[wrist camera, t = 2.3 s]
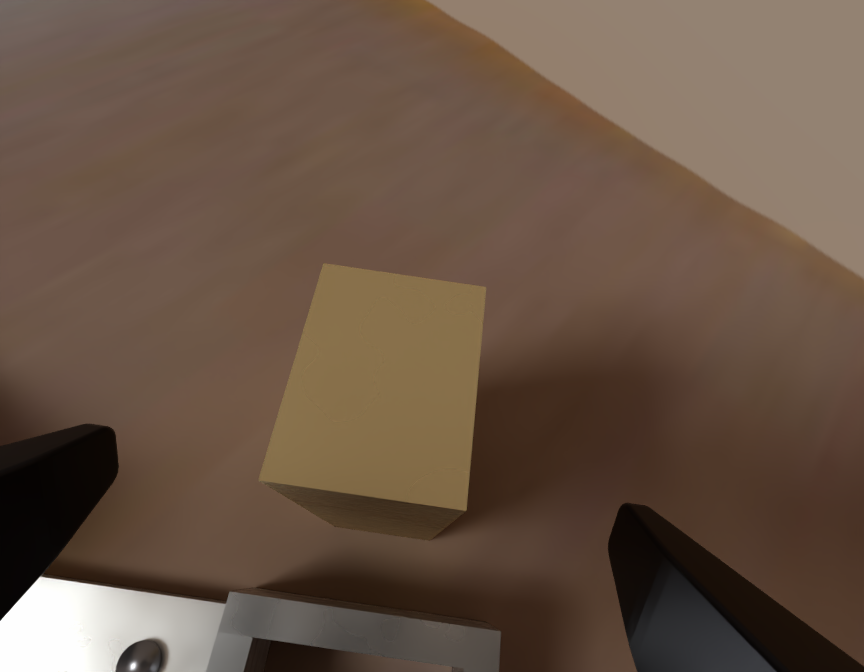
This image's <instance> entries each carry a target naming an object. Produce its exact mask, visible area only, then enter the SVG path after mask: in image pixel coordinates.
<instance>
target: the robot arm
mask: <svg viewBox="0 0 864 672" xmlns="http://www.w3.org/2000/svg"><path fill="white" fill-rule="evenodd" d="M118 468H119V464H118V454H117V444H116V435H115V432H114V430H113V429H112V428H110V427H108V426H102V425H95V424H82V425H79V426H75V427H71V428H67V429H64V430H60V431H56V432H52V433H49V434H45V435H41V436H37V437H34V438H30V439H26V440H22V441H18V442H15V443H11V444H7V445H3V446H0V621H1V620H2V619H3V618H4V617H5V615H6V614H7V613H8V612H9V611H10V610H11V609H12V608H13V607H14V605H15V604H16V603H17V602H18V601H19V600H20V599H21V598H22V596H23V595H24V594H25V593H26V592H27V591H28V590H29V589H30V587H31V586H32V585H33V584H34V583H35V582H36V581H37V580H38V579H39V577H40V576H41V575H42V574H43V573H44V572H45V570H46V569H47V568H48V567H49V566H50V565H51V563H52V562H53V561H54V560H55V559H56V557H57V556H58V555H59V554H60V552H61V551H62V550H63V548H64V547H65V546H66V545H67V543H68V542H69V541H70V539H71V538H72V537H73V535H74V534H75V533H76V531H77V530H78V529H79V527H80V526H81V525H82V523H83V522H84V521H85V519H86V518H87V517H88V515H89V514H90V513H91V511H92V510H93V509H94V507H95V506H96V505H97V503H98V502H99V501H100V499H101V498H102V497H103V495H104V494H105V493H106V491H107V490H108V489H109V487H110V486H111V485H112V483H113V482H114V480H115V478H116V476H117V473H118ZM608 553H609V558H610V563H611V567H612V572H613V576H614V581H615V585H616V590H617V594H618V599H619V603H620V608H621V612H622V617H623V621H624V626H625V630H626V634H627V638H628V642H629V646H630V650H631V653H632V656H633V659H634V663H635V666H636V669H637V672H864V666H862V665H861V664H860V663H858V662H857V661H856V660H854V659H853V658H852V657H850V656H849V655H848V654H846V653H845V652H843V651H842V650H841V649H839V648H838V647H837V646H835V645H834V644H833V643H831V642H830V641H829V640H827V639H826V638H825V637H823V636H822V635H821V634H819V633H818V632H817V631H815V630H814V629H812V628H811V627H810V626H808V625H807V624H806V623H804V622H803V621H802V620H800V619H799V618H798V617H796V616H795V615H794V614H792V613H791V612H790V611H788V610H787V609H786V608H784V607H783V606H781V605H780V604H779V603H777V602H776V601H775V600H773V599H772V598H771V597H769V596H768V595H767V594H765V593H764V592H763V591H761V590H760V589H759V588H757V587H756V586H755V585H753V584H752V583H750V582H749V581H748V580H746V579H745V578H744V577H742V576H741V575H740V574H738V573H737V572H736V571H734V570H733V569H732V568H730V567H729V566H728V565H726V564H725V563H724V562H722V561H721V560H720V559H718V558H717V557H715V556H714V555H713V554H711V553H710V552H709V551H707V550H706V549H705V548H703V547H702V546H701V545H699V544H698V543H697V542H695V541H694V540H693V539H691V538H690V537H689V536H687V535H686V534H685V533H683V532H682V531H680V530H679V529H678V528H676V527H675V526H674V525H672V524H671V523H670V522H668V521H667V520H666V519H664V518H663V517H662V516H660V515H659V514H658V513H656V512H655V511H654V510H652V509H651V508H649V507H648V506H645V505H638V504H631V503H625V504H622V505H621V507H620V508H619V510H618V513H617V517H616V520H615V523H614V526H613V529H612V532H611V535H610V538H609V543H608Z"/></svg>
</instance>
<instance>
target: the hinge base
mask: <svg viewBox="0 0 864 672" xmlns="http://www.w3.org/2000/svg"><path fill="white" fill-rule="evenodd" d="M271 640H275V641H282V642H288V643H295V644H302V645H309V646H316V647H322V648H329V649H336V650H343V651H349V652H356V653H363V654H370V655H377V656H383V657H390V658H397V659H404V660H410V661H417V662H424V663H431V664H438V665H444V666H451V667H453V670H452V672H499V661H500V640H501V631H499V630H498V629H496V628H495V627H493V626H492V625H490V624H489V623H487V622H483V621H477V620H470V619H463V618H456V617H449V616H443V615H436V614H429V613H422V612H416V611H409V610H402V609H395V608H388V607H382V606H375V605H368V604H361V603H355V602H348V601H341V600H334V599H327V598H321V597H314V596H307V595H300V594H293V593H287V592H280V591H273V590H266V589H260V588H249V589H243V590H236V591H230V592H229V595H228V599H227V601H221V600H215V599H208V598H201V597H194V596H188V595H181V594H174V593H167V592H160V591H154V590H147V589H140V588H133V587H127V586H120V585H113V584H106V583H99V582H93V581H86V580H79V579H72V578H65V577H59V576H52V575H45V574H42V575H41V576H40V577H39V579H38V580H37V581H36V582H35V583H34V584H33V585H32V586H31V587H30V589H29V590H28V591H27V592H26V593H25V594H24V595H23V596H22V598H21V599H20V600H19V601H18V602H17V603H16V604H15V605H14V607H13V608H12V609H11V610H10V611H9V612H8V613H7V614H6V615H5V617H4V618H3V619H2V620H1V621H0V672H264V668H265V664H266V660H267V655H268V651H269V647H270V643H271Z"/></svg>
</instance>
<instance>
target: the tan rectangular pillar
mask: <svg viewBox="0 0 864 672" xmlns="http://www.w3.org/2000/svg"><path fill="white" fill-rule="evenodd" d="M485 295H486V287H482V286H475V285H468V284H461V283H455V282H448V281H441V280H434V279H427V278H421V277H414V276H407V275H400V274H393V273H386V272H380V271H373V270H366V269H359V268H352V267H346V266H339V265H332V264H325V263H324V264H323V267H322V270H321V274H320V277H319V280H318V283H317V287H316V290H315V293H314V297H313V300H312V303H311V307H310V310H309V313H308V317H307V320H306V323H305V327H304V330H303V333H302V337H301V340H300V343H299V347H298V350H297V353H296V357H295V360H294V363H293V367H292V370H291V373H290V377H289V380H288V383H287V387H286V390H285V393H284V396H283V400H282V403H281V406H280V410H279V413H278V416H277V420H276V423H275V426H274V430H273V433H272V436H271V440H270V443H269V446H268V450H267V453H266V456H265V460H264V463H263V466H262V470H261V473H260V476H259V481H260V482H262V483H264V484H265V485H267V486H269V487H270V488H272V489H273V490H275V491H277V492H278V493H280V494H282V495H283V496H285V497H287V498H288V499H290V500H292V501H293V502H295V503H297V504H298V505H300V506H301V507H303V508H305V509H306V510H308V511H310V512H311V513H313V514H315V515H316V516H318V517H320V518H321V519H323V520H325V521H326V522H328V523H329V524H331V525H333V526H334V527H340V528H347V529H354V530H361V531H367V532H374V533H381V534H388V535H395V536H401V537H408V538H415V539H422V540H429V541H430V540H431V539H432V538H433V537H435V536H436V535H437V534H438V533H440V532H441V531H442V530H443V529H445V528H446V527H447V526H448V525H450V524H451V523H452V522H453V521H454V520H456V519H457V518H458V517H459V516H461V515H462V514H463V513H464V512H466V510H467V498H468V487H469V476H470V464H471V453H472V442H473V431H474V419H475V408H476V397H477V385H478V374H479V363H480V351H481V340H482V329H483V318H484V306H485Z"/></svg>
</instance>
